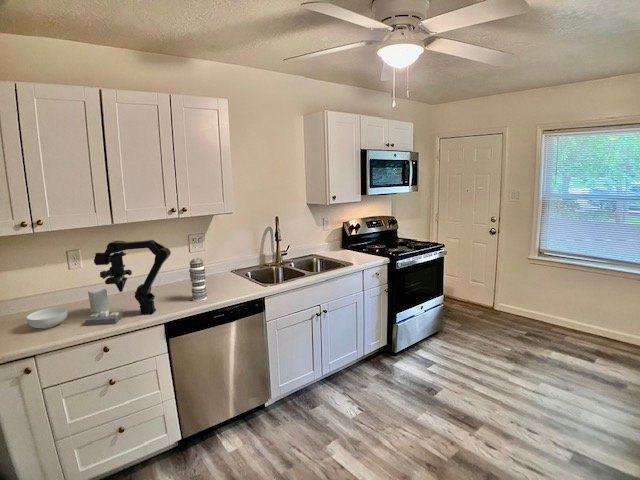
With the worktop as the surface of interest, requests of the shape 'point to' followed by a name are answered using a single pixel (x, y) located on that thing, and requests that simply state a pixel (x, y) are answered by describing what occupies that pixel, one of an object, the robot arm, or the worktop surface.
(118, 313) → the key
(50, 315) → the cereal bowl
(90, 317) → the key
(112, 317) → the gray key socket board
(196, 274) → the decorative candle
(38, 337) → the worktop surface
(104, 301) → the supplement box
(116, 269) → the robot arm
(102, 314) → the key mid
